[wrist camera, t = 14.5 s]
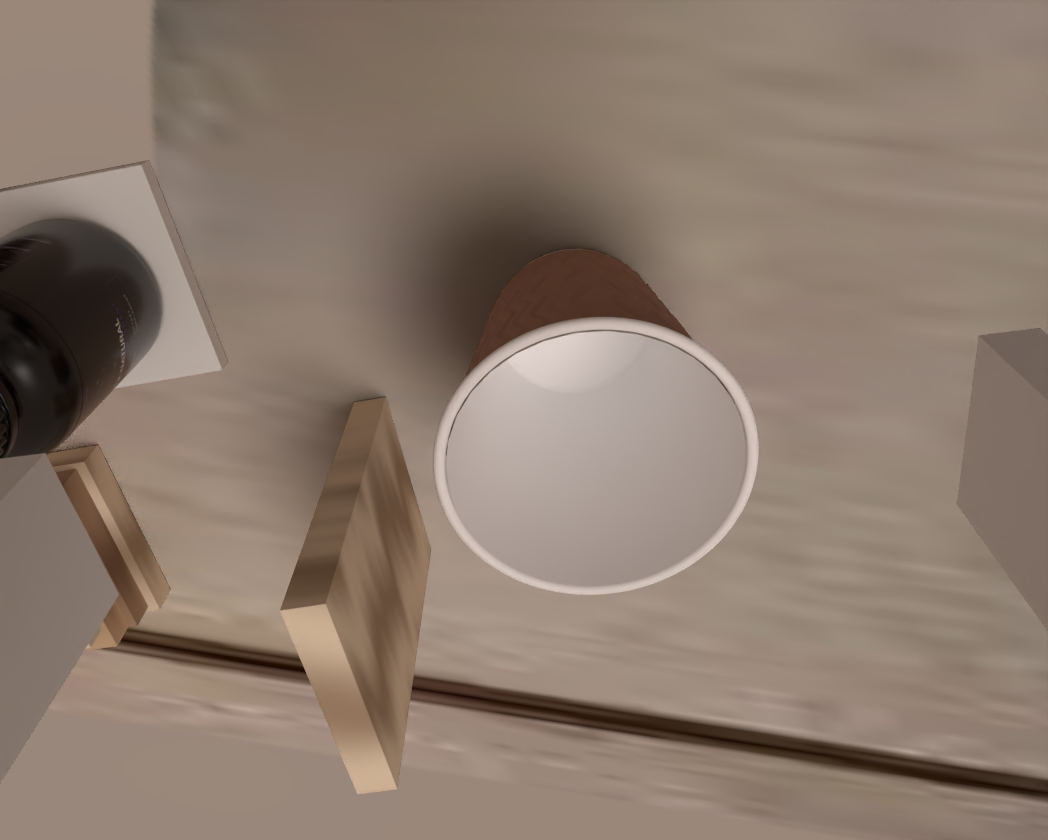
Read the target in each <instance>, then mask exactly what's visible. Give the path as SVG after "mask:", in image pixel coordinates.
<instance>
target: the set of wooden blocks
mask: <svg viewBox="0 0 1048 840" xmlns="http://www.w3.org/2000/svg"><path fill="white" fill-rule="evenodd" d="M47 457H48V459H49V461H50V463H51V465H52V467H53V469H54V471H55V472H56V474H57V476H58V478H59V480H60V482H61V484H62V486H63V488H64V490H65V492H66V494H67V496H68V497H69V499H70V501H71V503H72V505H73V507H74V509H75V511H76V513H77V515H78V517H79V519H80V521H81V522H82V524H83V526H84V528H85V530H86V532H87V534H88V536H89V538H90V540H91V542H92V544H93V546H94V547H95V549H96V551H97V553H98V555H99V557H100V559H101V561H102V563H103V565H104V567H105V569H106V570H107V572H108V574H109V576H110V578H111V580H112V582H113V584H114V586H115V588H116V590H117V592H118V594H119V596H118V597H117V599H116V601H115V602H114V604H113V605H112V607H111V609H110V610H109V612H108V613H107V615H106V616H105V618H104V620H103V621H102V623H101V624H100V626H99V628H98V629H97V631H96V632H95V634H94V636H93V637H92V639H91V640H90V642H89V643H88V645H87V647H86V648H85V650H92V649H99V648H106V647H113V646H118V644H119V642H120V640H121V639H122V637H123V635H124V633H125V632H126V630H127V628H128V627H132V626H138V624H139V622H140V620H141V619H142V617H143V615H144V613H145V612H146V611H153V610H159V609H160V608H161V607H162V605H163V603H164V601H165V599H166V597H167V595H168V594H169V592H170V588H169V586H168V584H167V582H166V580H165V578H164V576H163V574H162V572H161V570H160V568H159V566H158V564H157V562H156V560H155V558H154V556H153V554H152V552H151V550H150V548H149V546H148V544H147V542H146V540H145V538H144V536H143V534H142V532H141V530H140V528H139V526H138V524H137V522H136V520H135V518H134V516H133V514H132V512H131V510H130V508H129V506H128V504H127V502H126V500H125V498H124V496H123V494H122V492H121V490H120V488H119V486H118V484H117V482H116V480H115V478H114V476H113V474H112V472H111V470H110V468H109V466H108V464H107V462H106V460H105V458H104V456H103V454H102V452H101V450H100V448H99V446H98V445H95V446H89V447H82V448H76V449H70V450H64V451H58V452H52V453H49V454H47ZM430 555H431V549H430V545H429V542H428V538H427V535H426V532H425V528H424V525H423V522H422V518H421V515H420V511H419V508H418V505H417V501H416V498H415V494H414V491H413V488H412V484H411V481H410V478H409V474H408V471H407V467H406V464H405V461H404V457H403V454H402V450H401V447H400V444H399V440H398V437H397V433H396V430H395V427H394V423H393V420H392V417H391V413H390V410H389V406H388V403H387V400H386V397H383V398H377V399H371V400H365V401H359V402H354V404H353V407H352V410H351V413H350V415H349V418H348V421H347V424H346V427H345V429H344V432H343V435H342V438H341V441H340V443H339V446H338V449H337V452H336V455H335V457H334V460H333V463H332V466H331V469H330V472H329V474H328V477H327V480H326V483H325V486H324V488H323V491H322V494H321V497H320V500H319V502H318V505H317V508H316V511H315V514H314V516H313V519H312V522H311V525H310V528H309V531H308V533H307V536H306V539H305V542H304V545H303V547H302V550H301V553H300V556H299V559H298V561H297V564H296V567H295V570H294V573H293V575H292V578H291V581H290V584H289V587H288V589H287V592H286V595H285V598H284V601H283V604H282V606H281V609H280V612H281V614H282V617H283V619H284V621H285V624H286V626H287V628H288V631H289V633H290V636H291V638H292V640H293V643H294V645H295V647H296V650H297V652H298V654H299V657H300V659H301V662H302V664H303V666H304V669H305V671H306V673H307V676H308V678H309V680H310V683H311V685H312V687H313V690H314V692H315V695H316V697H317V699H318V702H319V704H320V706H321V709H322V711H323V713H324V716H325V718H326V720H327V723H328V725H329V728H330V730H331V732H332V735H333V737H334V739H335V742H336V744H337V746H338V749H339V751H340V754H341V756H342V758H343V761H344V763H345V765H346V768H347V770H348V772H349V775H350V777H351V779H352V782H353V784H354V787H355V789H356V791H357V794H362V793H370V792H378V791H386V790H393V789H397V788H398V780H399V774H400V767H401V760H402V753H403V746H404V739H405V732H406V724H407V717H408V710H409V703H410V696H411V689H412V682H413V675H414V668H415V661H416V654H417V647H418V640H419V632H420V625H421V618H422V611H423V604H424V597H425V590H426V583H427V576H428V569H429V562H430ZM85 650H84V651H85Z"/></svg>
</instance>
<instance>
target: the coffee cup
mask: <svg viewBox="0 0 1048 840" xmlns="http://www.w3.org/2000/svg"><path fill="white" fill-rule="evenodd" d="M734 403H735V404H736V406H737V409H738V411H739V413H738V411H737V409H736V406H735V404H734ZM739 414H740V416H739ZM740 417H741V418H740ZM743 427H744V429H743ZM744 433H745V435H744ZM745 440H746V441H745ZM447 443H448V444H447ZM446 455H447V457H446ZM758 456H759V440H758V431H757V425H756V421H755V417H754V414H753V411H752V408H751V405H750V403H749V401H748V398H747V396H746V394H745V392H744V391H743V389H742V387H741V386H740V384H739V382H738V381H737V380H736V378H735V377H734V376H733V374H732V373H731V372H730V371H729V370H728V368H727V367H726V366H725V365H724V364H723V363H722V362H721V361H720V360H719V359H718V358H717V357H715V356H714V355H713V354H712V353H711V352H710V351H708V350H707V349H706V348H704V347H703V346H701V345H700V344H698V343H697V342H695V341H694V340H693V339H692V338H691V337H690V336H689V334H688V333H687V332H686V330H685V329H684V328H683V327H682V325H681V324H680V323H679V322H678V320H677V319H676V318H675V317H674V316H673V315H672V314H671V313H670V311H669V310H668V309H667V308H666V306H665V305H664V304H663V303H662V301H661V300H659V299H658V297H657V296H656V294H655V293H654V292H653V291H652V289H651V288H650V287H649V285H648V284H645V282H644V281H643V280H642V278H641V277H640V275H639V274H638V273H637V272H635V271H633V270H632V269H631V268H630V267H629V266H628V265H626V264H623V263H621V262H620V261H619V260H617V259H615V258H612V257H611V256H609V255H606V254H603V253H600V252H597V251H593V250H585V249H566V250H559V251H556V252H552V253H548V254H545V255H543V256H541V257H539V258H537V259H535V260H533V261H531V262H530V263H529V264H527V265H526V266H525V267H523V268H522V269H521V270H519V271H518V272H517V274H516V275H515V276H514V277H513V278H512V279H510V280H509V281H508V284H507V286H506V287H505V288H504V289H502V290H501V293H500V295H499V297H498V298H497V299H496V301H495V303H494V306H493V308H492V311H491V313H490V316H489V318H488V321H487V323H486V326H485V329H484V332H483V334H482V336H481V339H480V341H479V344H478V347H477V349H476V352H475V354H474V358H473V360H472V363H471V365H470V367H469V370H468V372H467V375H466V377H465V379H464V380H463V381H462V382H461V384H460V385H459V386H458V388H457V389H456V391H455V392H454V394H453V395H452V397H451V399H450V400H449V402H448V404H447V406H446V408H445V410H444V412H443V415H442V417H441V420H440V423H439V426H438V429H437V433H436V438H435V443H434V451H433V471H434V480H435V486H436V490H437V494H438V497H439V500H440V503H441V505H442V508H443V510H444V512H445V514H446V516H447V518H448V520H449V521H450V523H451V525H452V526H453V528H454V529H455V531H456V532H457V534H458V535H459V536H460V538H461V539H462V540H463V541H464V542H465V543H466V545H467V546H468V547H469V548H470V549H471V550H472V551H473V552H474V553H475V554H477V555H478V556H479V557H480V558H481V559H482V560H484V561H485V562H486V563H488V564H489V565H491V566H492V567H493V568H495V569H497V570H498V571H500V572H502V573H503V574H505V575H507V576H509V577H511V578H513V579H515V580H518V581H520V582H523V583H525V584H528V585H531V586H534V587H537V588H541V589H545V590H549V591H554V592H560V593H567V594H580V595H598V594H610V593H618V592H624V591H629V590H633V589H637V588H641V587H644V586H647V585H650V584H653V583H656V582H659V581H661V580H664V579H666V578H668V577H670V576H672V575H674V574H676V573H678V572H680V571H682V570H683V569H685V568H687V567H688V566H690V565H691V564H693V563H695V562H696V561H697V560H699V559H700V558H701V557H703V556H704V555H705V554H706V553H708V552H709V551H710V550H711V549H712V548H713V547H714V546H715V545H717V543H718V542H719V541H720V540H721V539H722V538H723V537H724V536H725V535H726V534H727V533H728V531H729V530H730V529H731V527H732V526H733V525H734V523H735V522H736V520H737V519H738V517H739V516H740V514H741V512H742V510H743V509H744V507H745V504H746V502H747V500H748V498H749V495H750V493H751V490H752V487H753V484H754V480H755V476H756V471H757V466H758ZM446 473H447V477H446ZM447 481H448V483H447Z"/></svg>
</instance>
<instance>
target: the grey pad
mask: <svg viewBox="0 0 1048 840" xmlns="http://www.w3.org/2000/svg"><path fill="white" fill-rule="evenodd" d="M57 218H59V219H72V220H78V221H82V222H86V223H89V224H92V225H95V226H97V227H99V228H102V229H104V230H106V231H107V232H109V233H111V234H113V235H114V236H116V237H117V238H119V239H120V240H121V241H123V242H124V243H125V244H127V245H128V246H129V247H130V248H131V249H132V250H133V251H134V252H135V253H136V254H137V255H138V256H139V257H140V259H141V260H142V261H143V262H144V264H145V265H146V267H147V268H148V270H149V271H150V273H151V275H152V277H153V279H154V281H155V283H156V286H157V288H158V291H159V295H160V299H161V306H162V318H161V325H160V330H159V333H158V336H157V338H156V341H155V342H154V344H153V346H152V347H151V349H150V350H149V352H148V353H147V354H146V355H145V356H144V358H143V359H142V360H141V361H140V362H139V363H138V364H137V365H136V366H135V367H134V369H133V370H132V371H131V372H130V373H129V374H128V375H127V376H126V377H125V378H124V379H123V380H122V381H121V382H120V383H119V384H118V385H117V386H116V387H115V388H120V387H126V386H132V385H138V384H144V383H150V382H155V381H161V380H167V379H173V378H179V377H185V376H190V375H196V374H202V373H208V372H214V371H219V370H223V368H224V367H225V366H226V364H227V363H228V361H227V359H226V356H225V354H224V351H223V349H222V346H221V343H220V341H219V338H218V336H217V333H216V331H215V328H214V326H213V323H212V320H211V318H210V315H209V313H208V310H207V308H206V305H205V302H204V300H203V297H202V295H201V292H200V290H199V287H198V284H197V282H196V279H195V277H194V274H193V272H192V269H191V266H190V264H189V261H188V259H187V256H186V254H185V251H184V249H183V246H182V243H181V241H180V238H179V236H178V233H177V231H176V228H175V225H174V223H173V220H172V218H171V215H170V213H169V210H168V207H167V205H166V202H165V200H164V197H163V195H162V192H161V190H160V187H159V184H158V182H157V179H156V177H155V174H154V172H153V169H152V166H151V164H150V161H149V160H148V161H143V162H137V163H132V164H127V165H122V166H117V167H112V168H107V169H102V170H96V171H91V172H86V173H81V174H76V175H70V176H66V177H60V178H55V179H50V180H45V181H39V182H35V183H29V184H24V185H19V186H14V187H9V188H3V189H0V237H2V236H4V235H6V234H8V233H10V232H12V231H14V230H16V229H18V228H20V227H22V226H25V225H27V224H30V223H33V222H36V221H40V220H45V219H57ZM115 388H114V389H115Z"/></svg>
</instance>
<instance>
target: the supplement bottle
mask: <svg viewBox="0 0 1048 840" xmlns="http://www.w3.org/2000/svg"><path fill="white" fill-rule="evenodd" d="M161 318H162V306H161V299H160V295H159V291H158V288H157V286H156V283H155V281H154V279H153V277H152V275H151V273H150V271H149V270H148V268H147V267H146V265H145V264H144V262H143V261H142V260H141V259H140V257H139V256H138V255H137V254H136V253H135V252H134V251H133V250H132V249H131V248H130V247H129V246H128V245H127V244H125V243H124V242H123V241H121V240H120V239H119V238H117V237H116V236H114V235H113V234H111V233H109V232H107V231H106V230H104V229H102V228H99V227H97V226H95V225H92V224H89V223H86V222H82V221H78V220H72V219H59V218H57V219H45V220H40V221H36V222H33V223H30V224H27V225H25V226H22V227H20V228H18V229H16V230H14V231H12V232H10V233H8V234H6V235H4V236H2V237H0V459H2V458H10V457H18V456H26V455H34V454H42V453H46V455H47V454H49V453H51V452H52V451H53V450H54V449H56V448H57V447H58V446H59V445H60V444H61V443H63V442H64V441H65V440H66V439H67V438H68V437H69V436H70V435H71V434H72V433H73V432H74V431H75V429H76V428H77V427H78V426H79V425H80V424H81V423H82V422H83V421H84V420H85V419H86V418H87V417H88V416H89V415H90V414H91V413H92V412H93V411H94V410H95V408H96V407H97V406H98V405H99V404H100V403H101V402H102V401H103V400H104V399H105V398H106V397H107V396H108V395H109V394H110V393H111V392H112V391H113V390H114V388H115V387H116V386H117V385H118V384H119V383H120V382H121V381H122V380H123V379H124V378H125V377H126V376H127V375H128V374H129V373H130V372H131V371H132V370H133V369H134V367H135V366H136V365H137V364H138V363H139V362H140V361H141V360H142V359H143V358H144V356H145V355H146V354H147V353H148V352H149V350H150V349H151V347H152V346H153V344H154V342H155V341H156V338H157V336H158V333H159V330H160V325H161Z"/></svg>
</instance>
